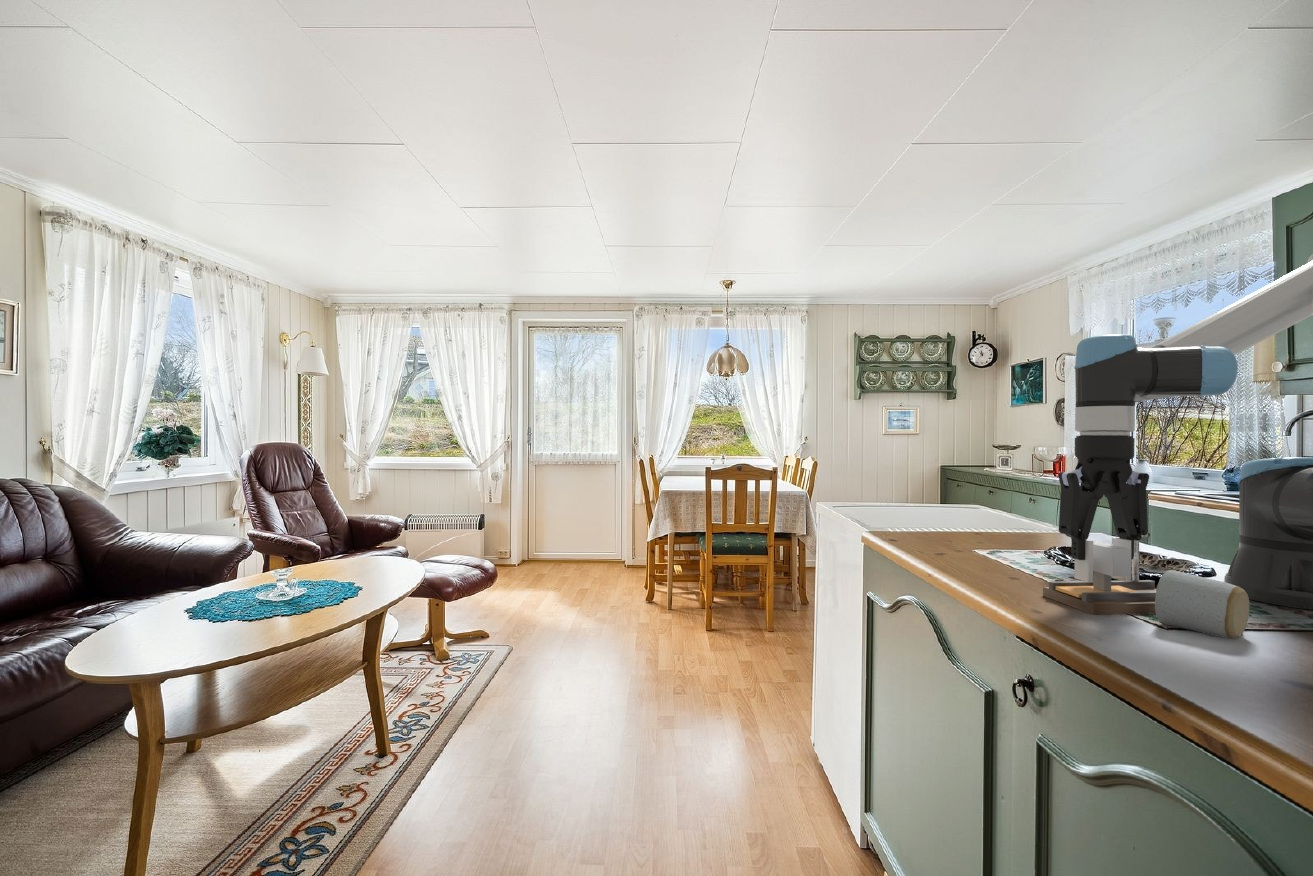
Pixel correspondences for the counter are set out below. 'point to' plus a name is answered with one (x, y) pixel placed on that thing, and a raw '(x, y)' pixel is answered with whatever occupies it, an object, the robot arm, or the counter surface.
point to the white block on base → (1105, 570)
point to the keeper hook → (1136, 559)
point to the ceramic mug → (1201, 604)
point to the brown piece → (1108, 597)
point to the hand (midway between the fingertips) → (1102, 579)
